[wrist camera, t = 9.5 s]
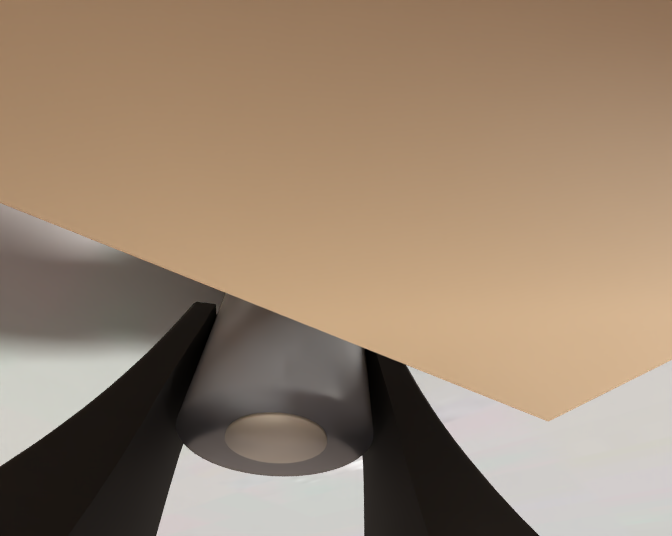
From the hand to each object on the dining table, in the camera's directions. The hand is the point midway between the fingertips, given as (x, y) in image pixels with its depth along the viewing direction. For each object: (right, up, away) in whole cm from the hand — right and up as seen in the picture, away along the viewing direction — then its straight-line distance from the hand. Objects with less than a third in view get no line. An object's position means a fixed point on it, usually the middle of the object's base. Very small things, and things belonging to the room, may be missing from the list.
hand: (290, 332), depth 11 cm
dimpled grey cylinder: (0, +1, +1) cm, 1 cm away
